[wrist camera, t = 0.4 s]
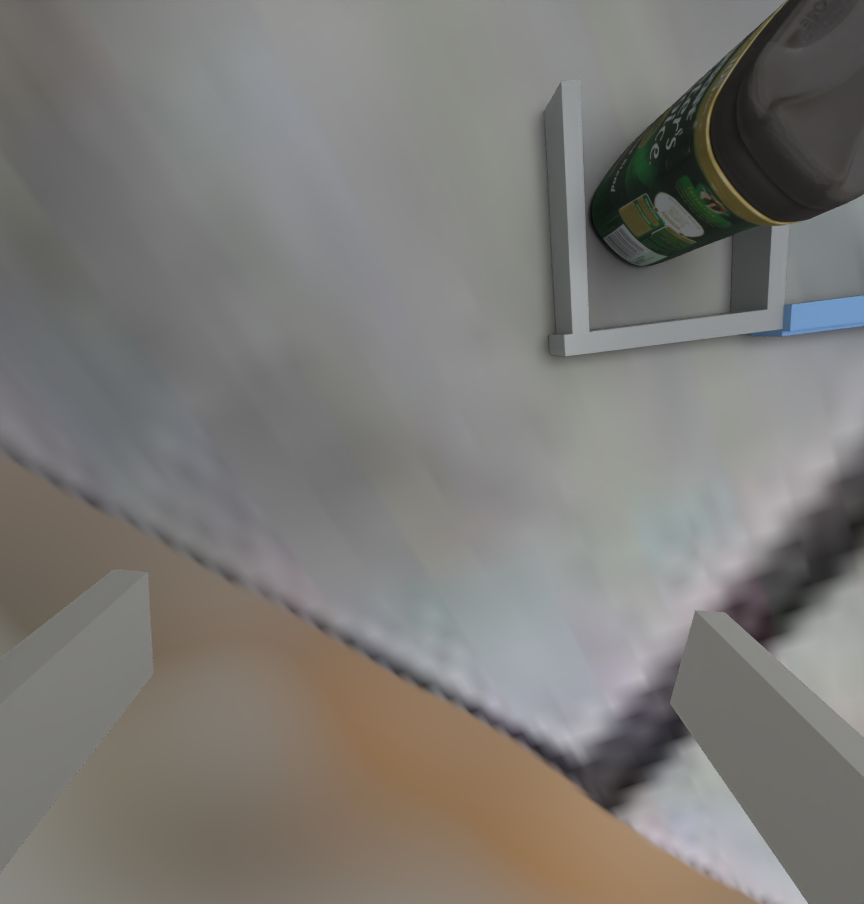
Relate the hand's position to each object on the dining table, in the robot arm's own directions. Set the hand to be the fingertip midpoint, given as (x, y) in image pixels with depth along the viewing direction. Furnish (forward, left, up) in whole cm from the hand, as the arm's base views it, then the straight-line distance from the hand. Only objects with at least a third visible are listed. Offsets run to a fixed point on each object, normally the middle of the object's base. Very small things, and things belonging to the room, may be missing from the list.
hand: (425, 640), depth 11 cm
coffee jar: (-15, +19, -28) cm, 37 cm away
